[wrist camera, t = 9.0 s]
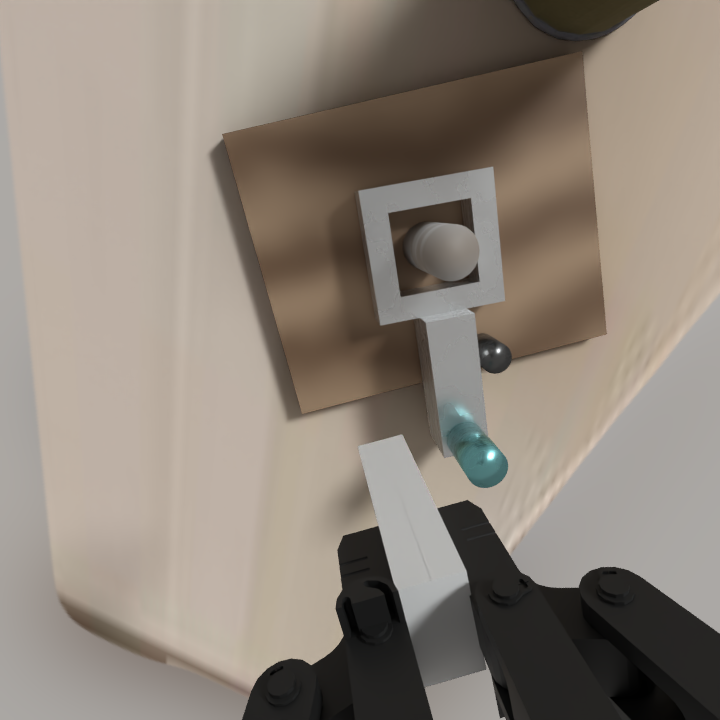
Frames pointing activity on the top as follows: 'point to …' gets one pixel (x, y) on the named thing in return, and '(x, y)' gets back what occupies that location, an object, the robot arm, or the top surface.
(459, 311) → the square loop handle
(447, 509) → the robot arm
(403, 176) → the board
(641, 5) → the canister
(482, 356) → the dowel
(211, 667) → the top surface
